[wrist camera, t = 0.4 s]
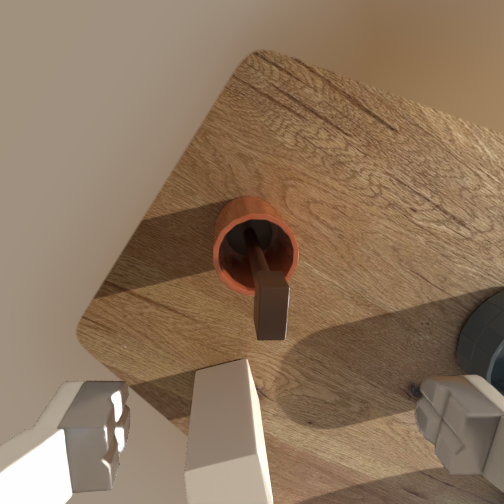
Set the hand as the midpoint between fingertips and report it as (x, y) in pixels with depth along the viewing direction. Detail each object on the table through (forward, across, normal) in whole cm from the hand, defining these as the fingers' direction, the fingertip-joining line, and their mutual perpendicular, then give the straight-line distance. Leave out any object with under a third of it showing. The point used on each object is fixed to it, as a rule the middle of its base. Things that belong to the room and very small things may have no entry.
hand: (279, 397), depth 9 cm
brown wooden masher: (+31, -2, +3) cm, 31 cm away
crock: (+32, -2, +3) cm, 32 cm away
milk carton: (+32, 0, +25) cm, 41 cm away
